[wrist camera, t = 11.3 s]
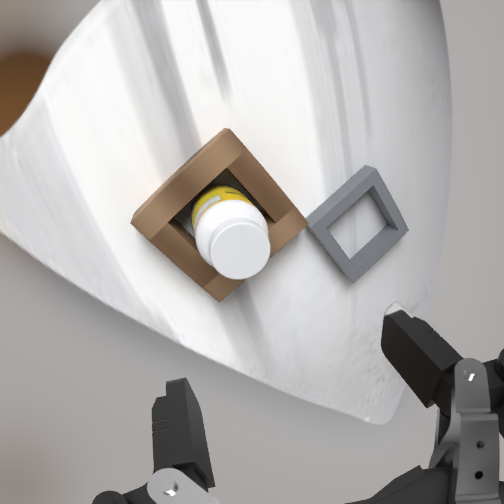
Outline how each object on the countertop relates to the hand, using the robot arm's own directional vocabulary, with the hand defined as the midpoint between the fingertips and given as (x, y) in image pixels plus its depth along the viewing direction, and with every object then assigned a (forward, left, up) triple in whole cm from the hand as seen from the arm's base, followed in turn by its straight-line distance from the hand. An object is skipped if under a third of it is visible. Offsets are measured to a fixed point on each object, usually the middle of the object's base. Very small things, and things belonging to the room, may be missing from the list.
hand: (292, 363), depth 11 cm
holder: (-10, +11, -20) cm, 25 cm away
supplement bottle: (0, 0, -20) cm, 20 cm away
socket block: (0, 0, -20) cm, 20 cm away
